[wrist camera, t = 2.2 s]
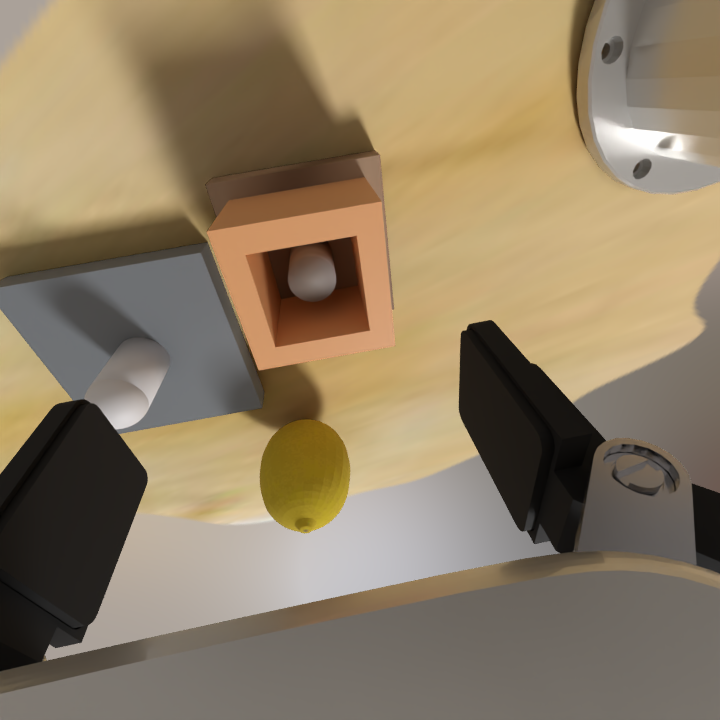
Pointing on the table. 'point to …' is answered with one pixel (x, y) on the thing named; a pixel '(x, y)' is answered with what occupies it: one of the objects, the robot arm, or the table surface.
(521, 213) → the table surface
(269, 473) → the lemon
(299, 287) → the stand
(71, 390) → the plate
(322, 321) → the collar
